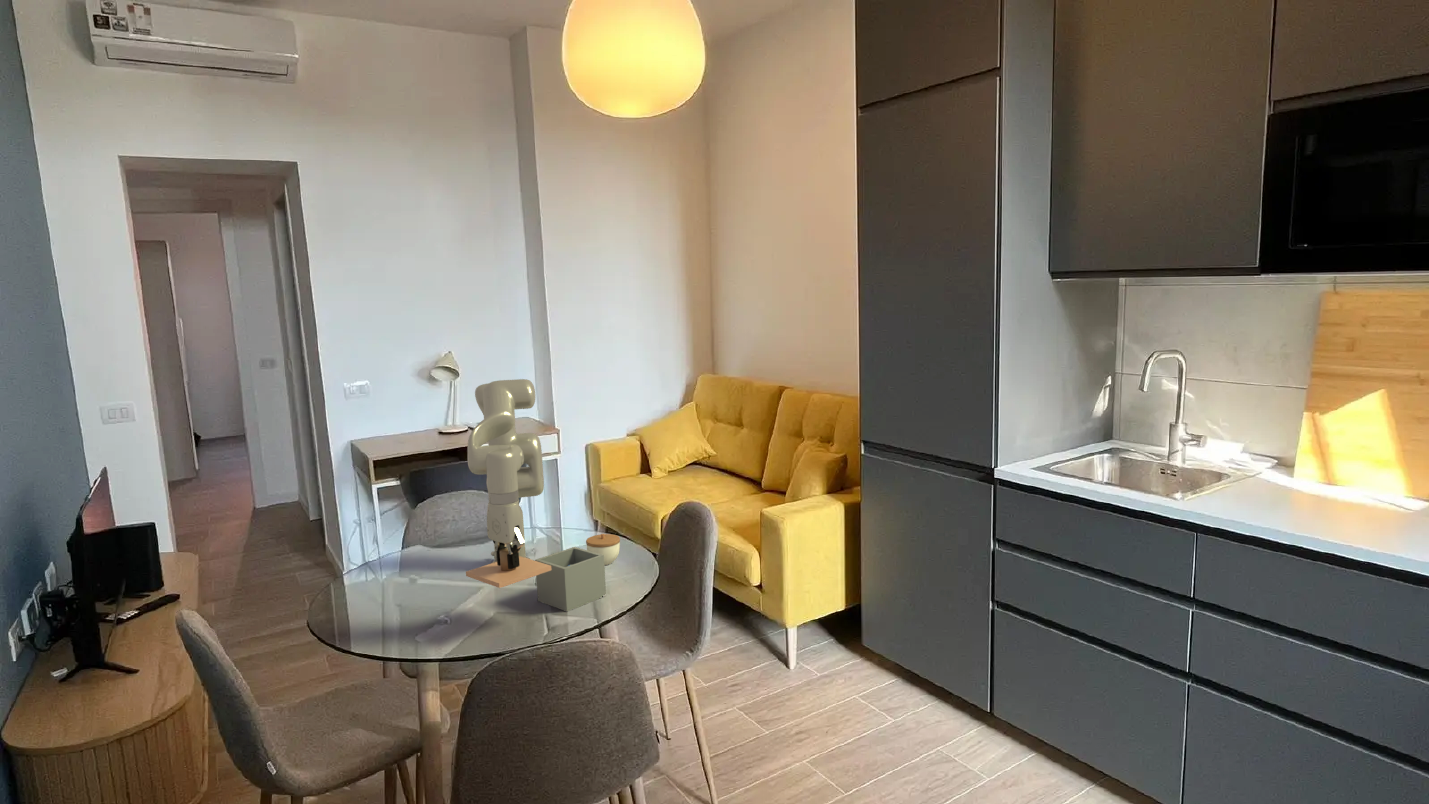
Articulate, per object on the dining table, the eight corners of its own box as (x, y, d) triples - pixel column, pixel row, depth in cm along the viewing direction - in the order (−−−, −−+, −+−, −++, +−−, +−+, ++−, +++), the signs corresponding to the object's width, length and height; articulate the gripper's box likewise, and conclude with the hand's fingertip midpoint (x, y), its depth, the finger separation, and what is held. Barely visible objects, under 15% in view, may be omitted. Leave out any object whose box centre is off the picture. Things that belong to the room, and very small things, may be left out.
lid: (466, 579, 207) (464, 552, 206) (517, 563, 219) (516, 537, 218) (499, 591, 198) (497, 563, 197) (551, 573, 209) (550, 547, 209)
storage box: (537, 600, 224) (535, 559, 223) (576, 586, 235) (574, 546, 233) (567, 611, 216) (564, 569, 214) (606, 595, 226) (603, 555, 225)
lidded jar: (627, 559, 257) (626, 531, 255) (606, 570, 248) (604, 541, 246) (602, 555, 262) (600, 527, 261) (580, 564, 253) (578, 536, 252)
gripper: (472, 496, 208) (477, 563, 211) (510, 505, 197) (515, 576, 200) (497, 490, 214) (502, 556, 216) (535, 499, 203) (539, 568, 205)
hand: (508, 565), depth 208 cm, fingers closed on lid, 4 cm apart
